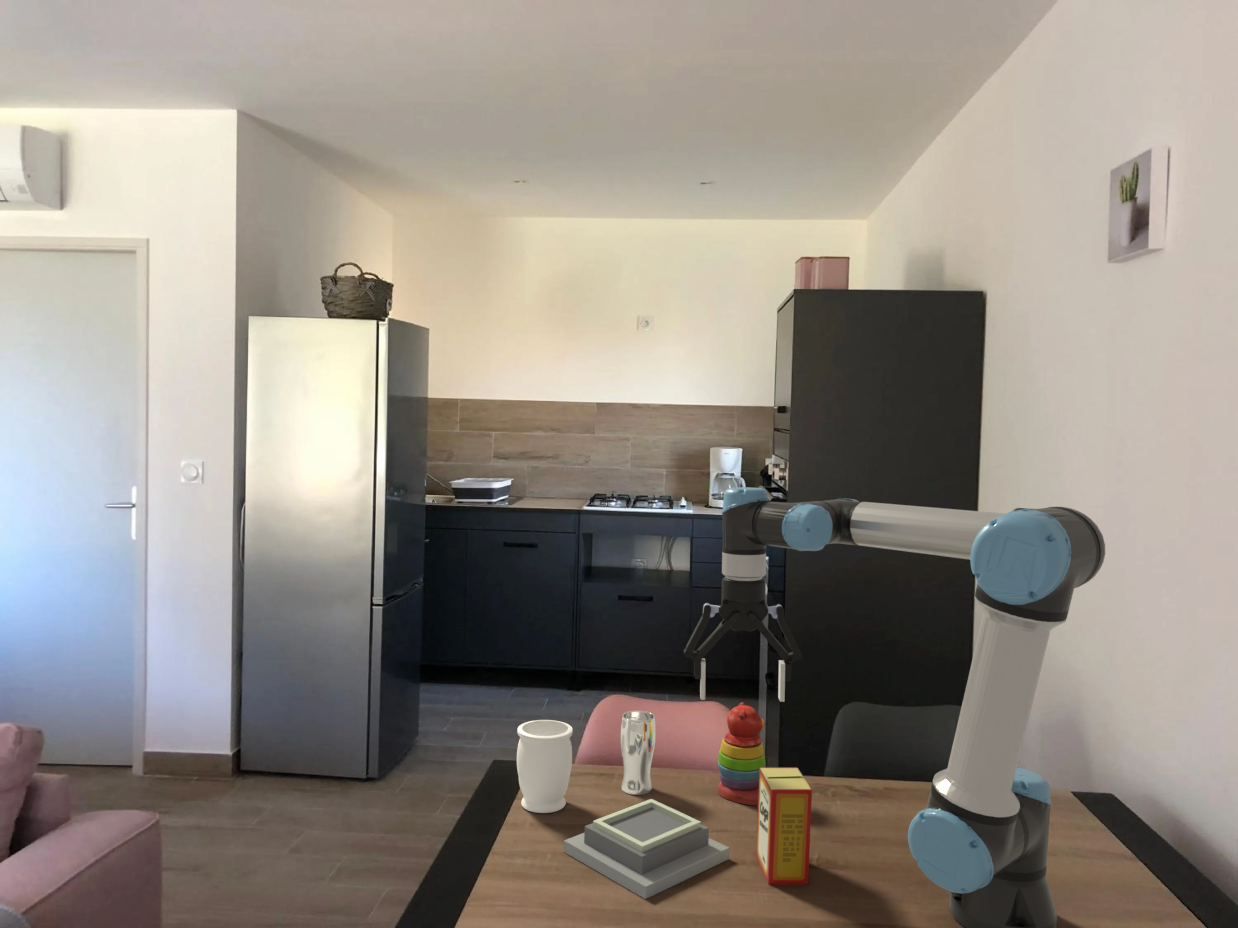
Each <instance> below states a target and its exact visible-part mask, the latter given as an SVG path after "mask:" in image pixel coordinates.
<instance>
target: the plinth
mask: <svg viewBox="0 0 1238 928" xmlns="http://www.w3.org/2000/svg"><path fill="white" fill-rule="evenodd" d="M709 834H710V827H709V826H706V825H704V824H702V822H701V821H700V820H698V819H696V818H693V817H691V816H689V815H687V814H686V813H683V812H681V811H679V810H677V809H675V808H672V807H671V806H668V805H665V804H664V803H661V802H658V801H657V800H655V799H652V798H650V799H647V800H645V801H641V802H639V803H636V804H634V805H632V806H631V805H630V806H629V807H626V808H623V809H621V810H618V811H615V812H612V813H610V814H608V815H605V816H602V817H599V818H597V819H595V820H594V819H593V820H592V823H590V824H586V825H584V832H582V833H580V834H577V835H575V836H572V837H569V838H567V839H565V840H563V853H565V854H567V855H568V856H570V857H572V858H573V859H576V860H577V861H579V862H580V863H582V864H584V865H586V866H587V867H589V868H591V869H593V870H594V871H596V872H598V873H599V874H601V875H602V876H604V877H606V878H608V879H610V880H612V881H613V882H615V883H617V884H619V885H620V886H622V887H623V888H625V889H627V890H629V891H631V892H632V893H634V894H636V895H638V896H639V897H640V898H642V899H644V900H647V899H649V898H651V897H653V896H655V895H657V894H659V893H662V892H664V891H665V890H668V889H669V888H672V887H674V886H676V885H679V884H680V883H682V882H685V881H687V880H688V879H691V878H693V877H694V876H697V875H698V874H699V875H700V874H701V873H703V872H705V871H707V870H709V869H711V868H713V867H716V866H717V865H720V864H722V863H723V862H726V861H728V860H729V859H730V847H729V846H727V845H725V844H723V843H721V842H719V841H716V840H715V839H712V838H710V836H709Z"/></svg>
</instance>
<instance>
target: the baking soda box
mask: <svg viewBox="0 0 1238 928" xmlns="http://www.w3.org/2000/svg"><path fill="white" fill-rule="evenodd" d="M812 792H813V790H812V788H811V787H810V785H809V784H808V782H807V780H806V779H805V777H804V776H803V774H802V772H801V771H800V770H799V768H798V767H797V766H796V767H795V766H794V767H792V766H789V767H787V766H783V767H781V766H777V767H776V766H775V767H774V766H770V767H769V766H765V767H759V793H758V806H757V821H756V822H757V823H756V824H757V825H756V849H755V850H756V851H755V853H756V855H755V857H756V859H757V862H758V864H759V866H760V869H761V870H762V873H763V876H764V878H765V881H766V882H767V885H809V869H810V847H811V845H810V844H811V842H810V841H811V821H812V820H811V819H812V799H813V798H812V796H813V793H812Z"/></svg>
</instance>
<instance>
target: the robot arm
mask: <svg viewBox="0 0 1238 928" xmlns="http://www.w3.org/2000/svg"><path fill="white" fill-rule="evenodd" d="M722 503H723V504H722V511H721V516H722V552H721V554H722V555H721V556H722V557H721V574H722V575H723V576H724V577H723V578H721V602H720V604H719V605H716V604H715V605H714V604H710V603H709V602H705V603H703V606H702V614H701V617H700V618H699V621H698V622H697V625H696V626H695V628H694V630H693V632H692V634H691V636H690V637H689V640H688V642H687V644H686V645H685V648H684V649H683V655H684V657H685V658H687V659H691V660H693V677H694V679H695V680H699V682H700V683H699V693H700V694H699V696H700V697H699V698H700V700H701V701H705V700H706V667H707V666H706V665H707V664H706V658H704V657H705V656H706V655H707V654H708V653H709V652H710V651H711V650H712V648H714V646H715V645H716V644H717V643H718V641H720V639H722V637H723V636H724V635H725V634H727V632H728V631H729V630H731V631H734V632H742V631H744V632H750V633H751V632H754V631H755V630H758V631H759V633H760V634H761V635H762V636H763V637H764V638H765V639H766V641H767V642H768V643H769V644H770V645H771V647H772V648H773V649H774V651H776V652H777V654H778V655H779V656H780V658H781V659H782V660H781V659H779V660H778V686H777V688H778V690H777V692H778V693H777V697H778V700H779V702H780V703H781V702H783V703H785V697H786V696H785V695H786V694H785V693H786V692H785V691H786V682H791V680H792V665H793V663H794V662H796V661H801V660H802V659H803V654H802V652H801V650H800V648H799V646H798V644H797V642H796V639H795V638H794V636H793V634H792V632H791V629H790V628H789V627H790V626H789V625H788V623H787V621H786V619H785V609H784V607H783V606H782V605H781V603H777V604H775V605H771V606H767V603H766V589H767V587H766V586H767V584H766V583H767V581H766V580H765V578H764V577H765V576H766V574H767V547H768V546H769V547H776V548H782V549H783V548H784V549H789V550H791V549H792V550H796V551H798V552H805V551H807V552H808V551H809V552H817V551H818V552H819V551H821V550H823V549H824V548H825V546H826V545H830V544H843V545H851V546H860V547H861V546H862V547H869V548H877V549H878V548H879V549H885V550H893V551H899V552H900V551H901V552H907V553H908V552H909V553H917V554H926V555H933V556H941V557H946V558H947V557H948V558H955V559H962V560H963V559H964V560H970V568H971V569H970V570H971V572H972V573H971V574H973V575H974V576H975V579H976V583H977V584H976V588H975V589H976V590H975V592H974V600H975V602H976V603H977V604H978V606H979V607H980V609H981V611H982V616H981V622H980V625H979V630H978V633H977V634H978V635H977V639H976V643H975V647H974V651H973V655H972V660H971V663H970V669H969V673H968V677H967V682H966V685H965V691H964V694H963V699H962V703H961V707H960V712H959V716H958V719H957V720H958V721H957V724H956V725H957V726H956V729H955V734H954V737H953V741H952V746H951V751H950V755H949V759H948V765H947V768H945V769H942V770H939V771H938V772H936V773H935V774H934V776H933V779H932V783H931V786H930V791H929V795H928V800H927V804H926V807H925V808H923V809H922V810H919V811H918V812H917V813H916V815H914V817H913V818H912V819H911V822H910V824H909V826H908V830H907V841H908V842H907V843H908V846H909V851H910V853H911V857H913V859H914V860H915V861H916V863H917V865H918V868H919V869H920V871H921V872H922V873H923V874H924V875H925V877H927V878H928V879H929V880H930V881H931V882H932V883H933V884H935V885H936V886H938V887H939V888H941V889H943V890H946V891H947V892H948V891H949V902H948V903H949V905H948V907H949V909H948V910H949V912H950V914H951V917H953V918H954V920H956V921H957V922H958V924H960V925H961V926H962V927H964V928H1057V924H1058V923H1057V920H1058V919H1057V917H1058V915H1057V911H1056V907H1055V903H1054V900H1053V896H1052V893H1051V889H1050V886H1049V883H1048V879H1047V866H1048V865H1047V864H1048V851H1049V837H1050V835H1049V834H1050V821H1051V820H1050V817H1051V816H1050V815H1051V806H1052V805H1053V803H1052V802H1053V801H1052V800H1051V786H1050V783H1049V782H1048V781H1047V780H1046V779H1045V778H1044V777H1042V776H1041V775H1040V774H1038V773H1036V772H1034V771H1032V770H1031V771H1030V770H1028V769H1026V768H1021V767H1019V766H1018V764H1019V761H1020V757H1021V753H1022V749H1023V748H1022V747H1023V744H1024V740H1025V737H1026V731H1027V729H1028V728H1027V727H1028V724H1029V720H1030V716H1031V711H1032V707H1033V703H1034V700H1035V695H1036V691H1037V688H1038V682H1039V679H1040V675H1041V672H1042V666H1043V663H1044V659H1045V656H1046V655H1045V653H1046V651H1047V647H1048V642H1049V638H1050V634H1051V631H1052V630H1053V629H1055V628H1056V627H1058V626H1060V625H1062V624H1065V623H1066V622H1067V619H1068V615H1069V612H1070V607H1071V601H1072V599H1073V595H1074V590H1075V589H1077V588H1080V587H1082V586H1084V585H1085V584H1087V583H1089V582H1090V581H1091V580H1092V579H1093V578H1094V577H1095V576H1096V575H1097V574H1098V572H1099V571H1100V570H1101V568H1102V566H1103V563H1104V561H1105V555H1106V543H1105V540H1104V536H1103V533H1102V531H1101V529H1100V528H1099V527H1098V525H1097V524H1096V523H1095V522H1094V521H1093V520H1092V518H1090V516H1087V515H1086V514H1084V513H1083V512H1081V511H1079V510H1076V509H1073V508H1070V507H1065V506H1048V507H1044V508H1024V507H1023V508H1022V507H1014V508H1013V509H1012V510H1010V511H1008V512H1006V513H1003V512H990V511H979V510H967V509H965V510H964V509H956V508H955V509H953V508H943V507H942V508H941V507H932V506H931V507H930V506H919V505H918V506H917V505H905V504H894V503H884V502H881V503H880V502H871V501H870V502H869V501H859V500H857V499H853V498H846V497H845V498H842V497H839V498H836V499H829V500H828V499H827V500H817V501H815V500H814V501H800V502H781V501H770V500H769V498H768V492H767V490H766V489H765V488H761V487H748V486H745V487H743V486H742V487H741V486H740V487H737V486H736V487H730V488H726V490H725V491H724V493H723V502H722ZM717 613H719V615H720V616H721V618H722V621H720V623H719V624H718V626H717V627H716V628H715V630H714V631H713V632H711V634H710V635H709V636H708V637H707V638H706V639H705V641H704V642H703V643H702V644H701V645H700V646H699V647H698V648H697V649H696V646H697V644H698V643H699V641H700V640H701V637H702V636H703V633H704V631H705V629H706V628H707V626H708V624H709V622H710V620H711V619H710V618H713V617H715V615H716V614H717ZM768 614H770V615H771V617H772V619H774V620H776V621H777V623H778V625H779V627H780V629H781V631H782V633H783V635H784V637H785V639H786V642H787V644H788V646H789V648H790V650H791V652H788V651H787V649H785V648H784V646H782V644H781V643H780V642H779V640H778V639H777V638H776V637H775V635H774V634H773V633H772V632H771V631H770V629H769V628H768V627H767V626H766V625H765V623H764V622H763V621H764V620H765V619H766V618H767V616H768ZM695 649H696V650H695Z"/></svg>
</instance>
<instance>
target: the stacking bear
mask: <svg viewBox="0 0 1238 928" xmlns="http://www.w3.org/2000/svg"><path fill="white" fill-rule="evenodd" d="M726 722H727V728H728V732H727V733H726V734H725V735H724V737H723V738H722V740H721V742H720V743H721V744H720V749H719V750H718V757H717V760H718V761H717V766H718V767H717V768H718V771H719V778H720V782H719V784H718V789H717V791H718V792H717V793H718V794H719V795H720V796H721V797H723V798H724V799H726V800H729V801H732V802H735V803H738V804H743V805H749V806H756V807H758V793H759V767H766V756H765V755H766V754H765V750H764V745H763V742H762V741H763V740H762V738H761V736H760V735H759V734H760V733H762V731H763V730H764V727H765V724H766V722H765V720H764V719H763V718H762V717H761V716H760V715H759V714H758V712H757V710H756V709H754V708H753V707H752V706H750V705H745V703H744V702H743V701H742V702H740V703H739V704H738V705H737V706H735V707H733V708H732V709H731V710H729V712H728V714H727V718H726Z"/></svg>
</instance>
